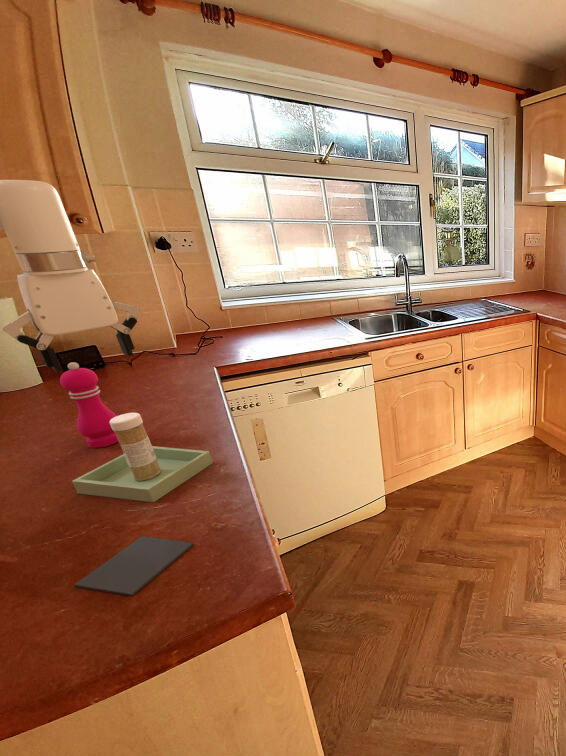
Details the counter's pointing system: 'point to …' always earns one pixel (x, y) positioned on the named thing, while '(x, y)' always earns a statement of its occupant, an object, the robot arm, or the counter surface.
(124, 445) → the sprinkles bottle
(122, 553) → the mat
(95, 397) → the pepper mill
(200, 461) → the tray
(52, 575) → the counter surface
